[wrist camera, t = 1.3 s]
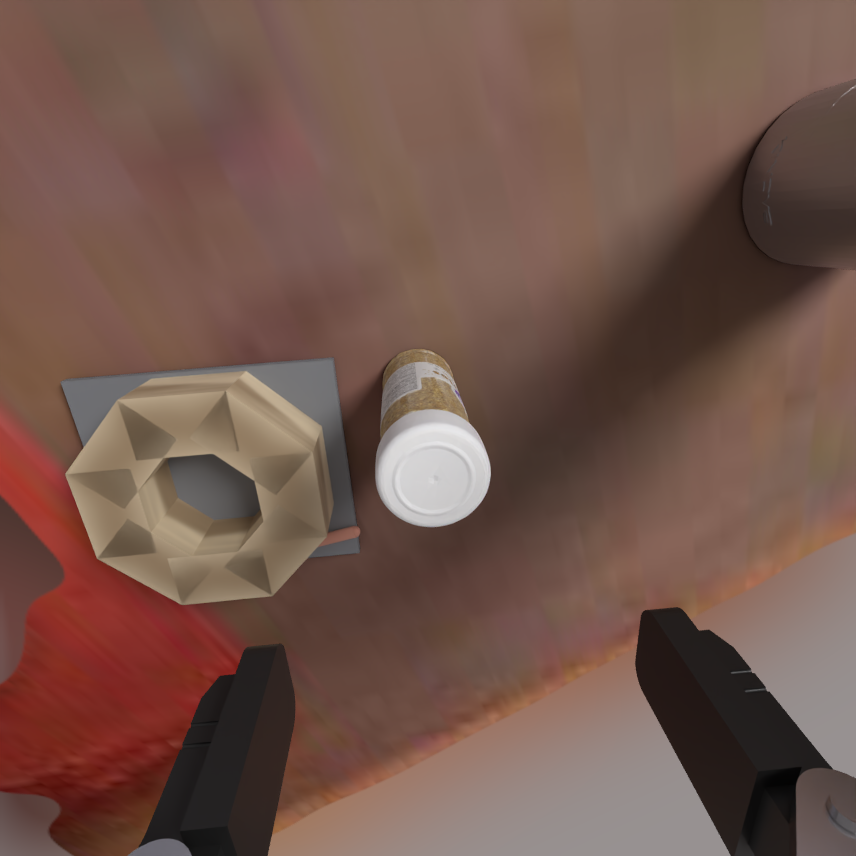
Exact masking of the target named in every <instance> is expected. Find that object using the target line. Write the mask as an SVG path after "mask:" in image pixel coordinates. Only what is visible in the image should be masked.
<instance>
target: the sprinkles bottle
mask: <svg viewBox="0 0 856 856" xmlns="http://www.w3.org/2000/svg"><path fill="white" fill-rule="evenodd" d="M382 386H383V394H382V408H381V425H380V436H381V441H380V443H379V446H378V449H377V453H376V463H375V480H376V486H377V490H378V493H379V496H380V498H381V500H382V501H383V503H384V504H385V506H386V507H387V508H388V509H389V510H390V511H391V512H392V513H393V514H394V515H396V516H397V517H398V518H400V519H402V520H404V521H405V522H408V523H410V524H413V525H417V526H423V527H440V526H445V525H449V524H452V523H455V522H457V521H459V520H461V519H463V518H465V517H466V516H468V515H469V514H470V513H471V512H473V511H474V510H475V509H476V508H477V507H478V505H479V504H480V503H481V502H482V500H483V498H484V497H485V495H486V493H487V490H488V487H489V483H490V477H491V467H490V462H489V458H488V455H487V452H486V449H485V447H484V444H483V442H482V440H481V438H480V436H479V434H478V433H477V431H476V430H475V429H474V428H473V427H472V425H471V424H470V423H469V420H468V416H467V412H466V410H465V407H464V405H463V402H462V400H461V397H460V394H459V391H458V389H457V386H456V384H455V382H454V378H453V374H452V371H451V369H450V366H449V365H448V364H447V362H446V361H445V360H444V359H443V358H442V357H441V356H439V355H438V354H436V353H434V352H432V351H429V350H425V349H412V350H408V351H405V352H402V353H400V354H398V355H397V356H396V357H395V358H394V359H392V360H391V362H390V363H389V364H388V365H387V367H386V370H385V371H384V374H383V382H382Z"/></svg>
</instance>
